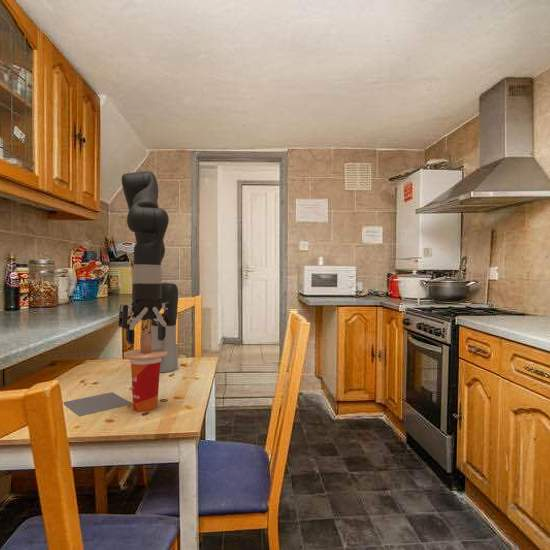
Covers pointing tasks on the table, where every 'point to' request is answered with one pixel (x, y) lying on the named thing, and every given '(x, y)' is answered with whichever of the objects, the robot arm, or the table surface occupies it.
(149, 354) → the lid
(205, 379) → the table surface
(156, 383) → the coffee cup
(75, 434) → the table surface
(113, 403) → the mat
